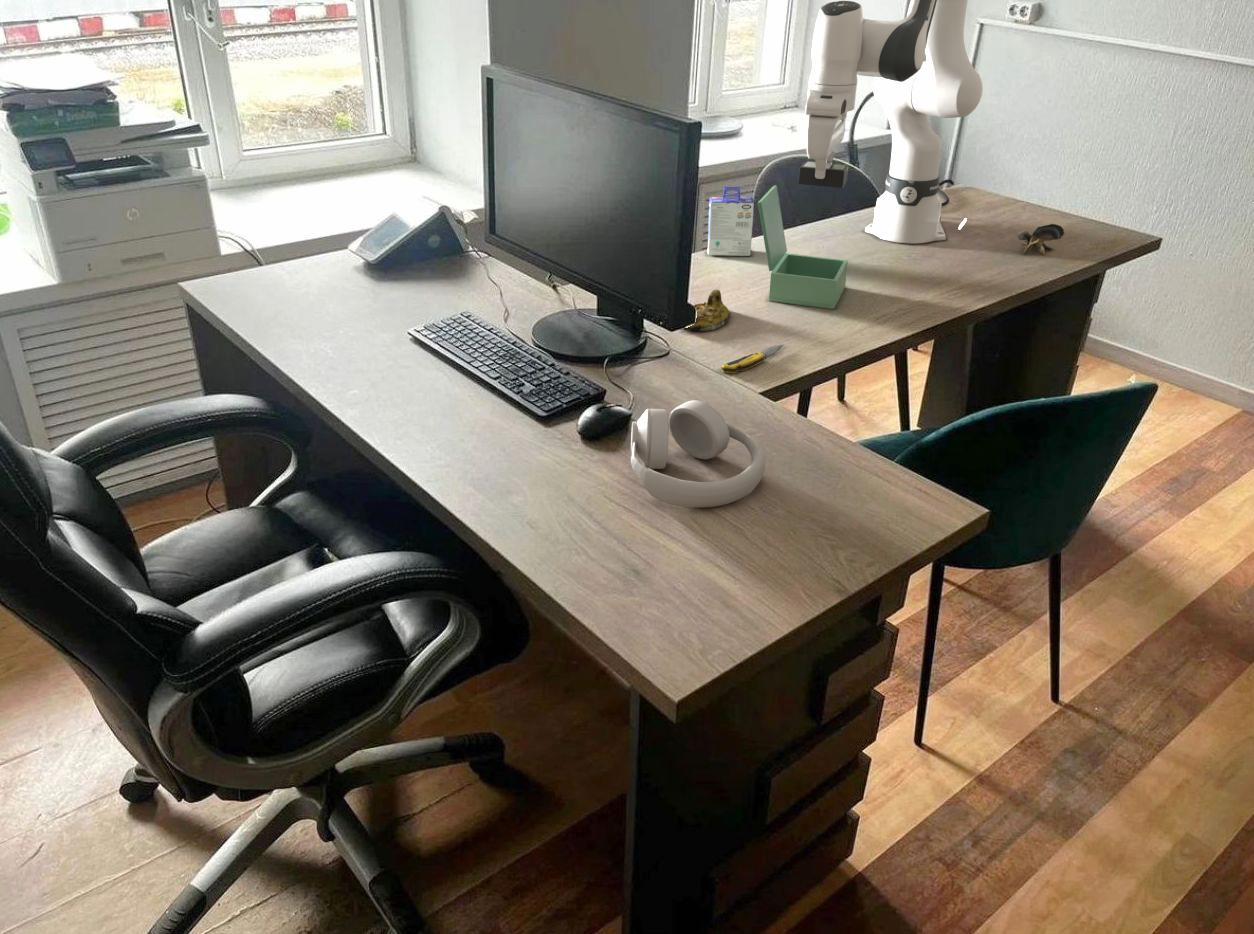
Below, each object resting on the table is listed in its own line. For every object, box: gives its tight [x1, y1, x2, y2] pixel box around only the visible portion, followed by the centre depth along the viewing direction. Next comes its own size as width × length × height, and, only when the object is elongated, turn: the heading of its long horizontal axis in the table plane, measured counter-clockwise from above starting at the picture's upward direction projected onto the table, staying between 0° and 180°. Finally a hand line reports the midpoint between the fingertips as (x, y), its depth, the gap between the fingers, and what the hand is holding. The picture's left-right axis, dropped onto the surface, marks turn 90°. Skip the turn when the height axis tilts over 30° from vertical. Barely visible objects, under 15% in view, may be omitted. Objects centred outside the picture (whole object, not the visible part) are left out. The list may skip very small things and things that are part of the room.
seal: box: [682, 289, 731, 332], centre depth 190 cm, size 9×5×15 cm
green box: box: [768, 252, 849, 310], centre depth 203 cm, size 13×14×6 cm
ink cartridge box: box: [706, 186, 755, 257], centre depth 224 cm, size 10×6×14 cm, turn 89°
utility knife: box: [721, 343, 785, 374], centre depth 175 cm, size 16×1×3 cm
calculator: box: [797, 161, 849, 189], centre depth 192 cm, size 8×5×3 cm, turn 70°
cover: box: [757, 185, 788, 272], centre depth 200 cm, size 14×14×1 cm
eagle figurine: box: [1016, 223, 1065, 256], centre depth 228 cm, size 8×7×9 cm
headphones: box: [630, 399, 766, 509], centre depth 139 cm, size 18×8×20 cm
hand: (823, 174), depth 192 cm, fingers closed on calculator, 5 cm apart
